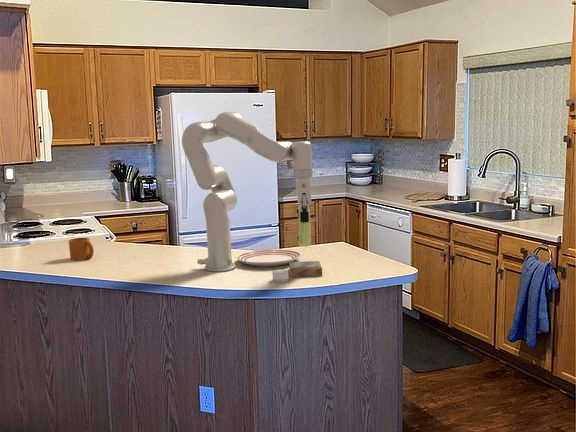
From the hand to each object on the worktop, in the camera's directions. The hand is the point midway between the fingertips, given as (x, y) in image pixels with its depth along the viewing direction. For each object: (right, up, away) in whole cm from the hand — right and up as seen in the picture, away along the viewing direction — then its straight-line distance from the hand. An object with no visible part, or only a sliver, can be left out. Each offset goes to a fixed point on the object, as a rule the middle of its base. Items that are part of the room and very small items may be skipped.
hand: (304, 220), depth 240 cm
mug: (-99, -18, +41) cm, 109 cm away
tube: (0, -10, +2) cm, 10 cm away
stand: (+1, -20, +3) cm, 21 cm away
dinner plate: (-14, -18, +24) cm, 33 cm away
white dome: (-9, -23, -7) cm, 25 cm away
